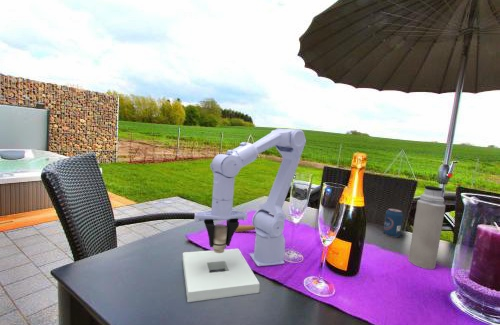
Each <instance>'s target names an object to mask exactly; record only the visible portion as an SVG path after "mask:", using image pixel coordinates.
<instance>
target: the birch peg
mask: <svg viewBox="0 0 500 325" xmlns="http://www.w3.org/2000/svg"><path fill="white" fill-rule="evenodd" d="M214 225H215V229H214V235H213V247H211V248H212V249H213V250H214V252H215V253H223V252H224V250H226V249H227V245H226V244H227V224H221V223H220V224H217V223H216V224H214Z"/></svg>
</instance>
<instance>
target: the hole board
mask: <svg viewBox="0 0 500 325" xmlns="http://www.w3.org/2000/svg"><path fill="white" fill-rule="evenodd" d="M182 267H183V268H182V269H183V275H184V283H185V291H186V292H185V293H186V300H187V303H192V302H199V301H200V302H201V301H206V300H207V301H208V300H214V299H215V300H216V299H222V298H223V299H224V298H230V297H235V296H237V297H238V296H243V295H252V294H258V293H259V294H260V285H261V284H260V281H259V280H258V279H257V277H256V275H255V274H254V271H253V270H252V269H251V267H250V265H249V263H248V262H247V260H246V259H245V257H244V256H243V254H242V252H241V250H240V249H239V248H229V249H227V248H225V249H224V252H223V253H215V252H214V249H213V250H201V251H200V250H198V251H186V252H182ZM219 270H224V271H219ZM210 271H215V272H210Z"/></svg>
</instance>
